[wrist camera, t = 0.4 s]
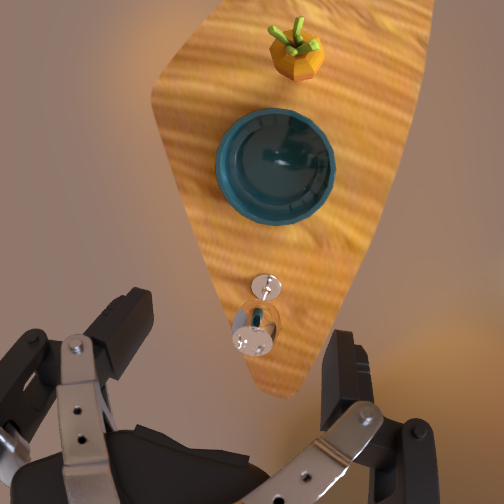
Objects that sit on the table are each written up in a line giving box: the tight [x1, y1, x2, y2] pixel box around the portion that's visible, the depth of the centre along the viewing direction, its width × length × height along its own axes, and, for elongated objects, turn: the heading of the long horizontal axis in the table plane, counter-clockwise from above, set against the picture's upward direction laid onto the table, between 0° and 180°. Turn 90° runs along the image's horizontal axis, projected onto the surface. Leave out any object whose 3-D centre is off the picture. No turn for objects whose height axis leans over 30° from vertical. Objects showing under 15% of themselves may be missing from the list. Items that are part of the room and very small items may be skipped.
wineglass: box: [232, 274, 282, 356], centre depth 38 cm, size 6×6×12 cm
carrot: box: [268, 17, 325, 82], centre depth 23 cm, size 5×5×15 cm
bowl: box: [215, 108, 336, 226], centre depth 33 cm, size 13×13×5 cm
